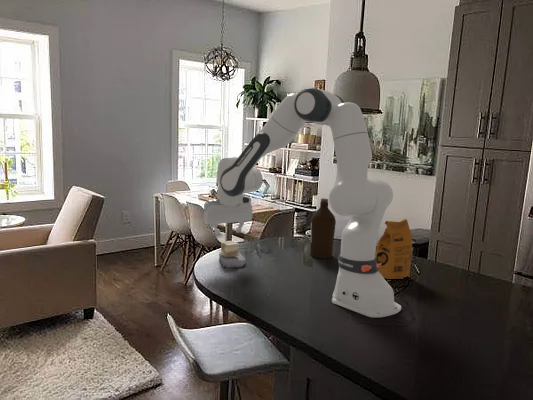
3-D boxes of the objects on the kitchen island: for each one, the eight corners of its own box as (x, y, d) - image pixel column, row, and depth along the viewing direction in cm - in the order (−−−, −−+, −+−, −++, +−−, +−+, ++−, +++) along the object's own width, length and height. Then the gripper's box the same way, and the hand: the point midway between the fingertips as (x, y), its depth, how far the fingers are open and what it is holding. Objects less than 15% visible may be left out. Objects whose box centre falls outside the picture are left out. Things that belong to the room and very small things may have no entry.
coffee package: (369, 274, 167) (374, 218, 164) (394, 271, 173) (398, 216, 169) (388, 283, 159) (393, 224, 155) (413, 279, 164) (418, 221, 161)
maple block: (237, 255, 173) (238, 243, 173) (226, 257, 171) (227, 245, 170) (232, 252, 178) (232, 240, 177) (220, 254, 175) (221, 242, 174)
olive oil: (336, 254, 193) (340, 198, 189) (328, 260, 183) (332, 202, 179) (314, 250, 198) (317, 196, 193) (305, 256, 188) (308, 199, 184)
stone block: (239, 262, 183) (216, 259, 180) (242, 251, 182) (219, 248, 179) (246, 272, 172) (222, 269, 169) (249, 261, 171) (225, 257, 168)
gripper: (207, 201, 162) (207, 238, 164) (254, 198, 173) (254, 232, 175) (200, 199, 167) (200, 234, 169) (246, 196, 178) (246, 229, 180)
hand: (228, 233), depth 172 cm, fingers open, 8 cm apart
